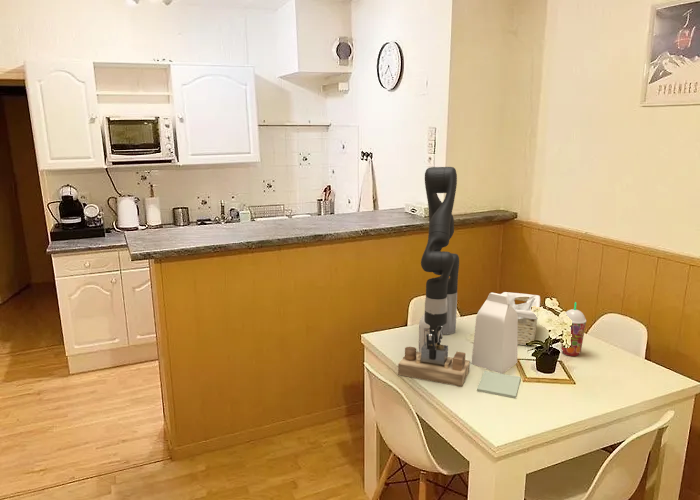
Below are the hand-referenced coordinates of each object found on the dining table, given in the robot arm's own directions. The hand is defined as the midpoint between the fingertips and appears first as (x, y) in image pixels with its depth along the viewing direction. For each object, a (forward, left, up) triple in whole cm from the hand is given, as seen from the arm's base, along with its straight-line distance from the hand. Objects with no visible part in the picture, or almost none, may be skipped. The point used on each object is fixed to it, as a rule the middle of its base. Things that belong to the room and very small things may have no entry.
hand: (434, 355), depth 178 cm
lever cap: (0, 0, -2) cm, 2 cm away
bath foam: (-14, -6, -7) cm, 16 cm away
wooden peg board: (0, 0, -6) cm, 6 cm away
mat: (0, +22, -6) cm, 23 cm away
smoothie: (-36, +43, -7) cm, 56 cm away
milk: (-16, +18, -7) cm, 25 cm away
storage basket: (-47, +22, -7) cm, 52 cm away
